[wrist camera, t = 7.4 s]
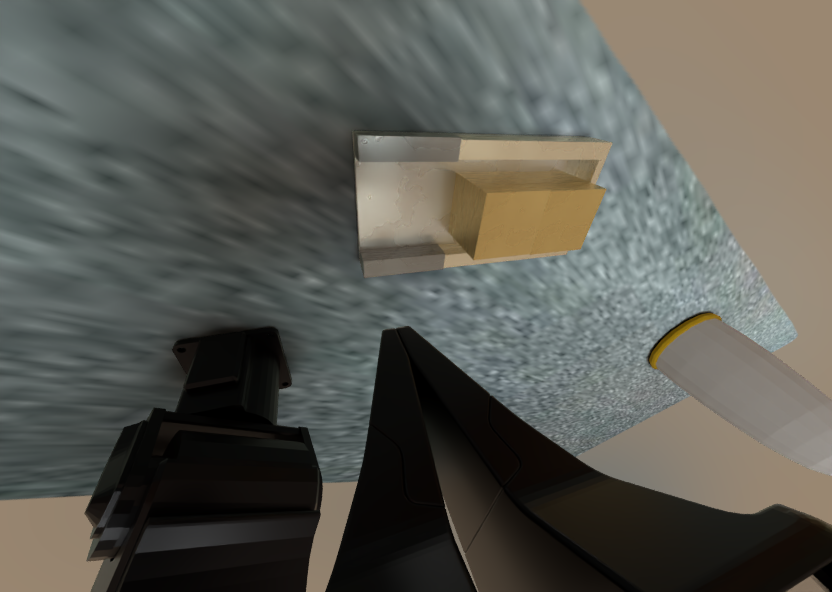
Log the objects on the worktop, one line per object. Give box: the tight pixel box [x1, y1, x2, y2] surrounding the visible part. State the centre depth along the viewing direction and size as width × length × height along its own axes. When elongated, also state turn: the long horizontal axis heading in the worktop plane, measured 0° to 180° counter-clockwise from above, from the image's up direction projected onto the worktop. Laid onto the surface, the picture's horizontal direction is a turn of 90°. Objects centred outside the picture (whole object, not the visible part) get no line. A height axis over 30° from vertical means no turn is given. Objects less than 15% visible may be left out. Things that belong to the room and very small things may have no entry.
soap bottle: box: [649, 313, 832, 476], centre depth 35 cm, size 11×12×26 cm
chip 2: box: [515, 171, 606, 255], centre depth 20 cm, size 4×4×4 cm
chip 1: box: [448, 171, 551, 260], centre depth 19 cm, size 4×4×4 cm
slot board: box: [352, 130, 612, 278], centre depth 20 cm, size 16×8×2 cm, turn 86°
